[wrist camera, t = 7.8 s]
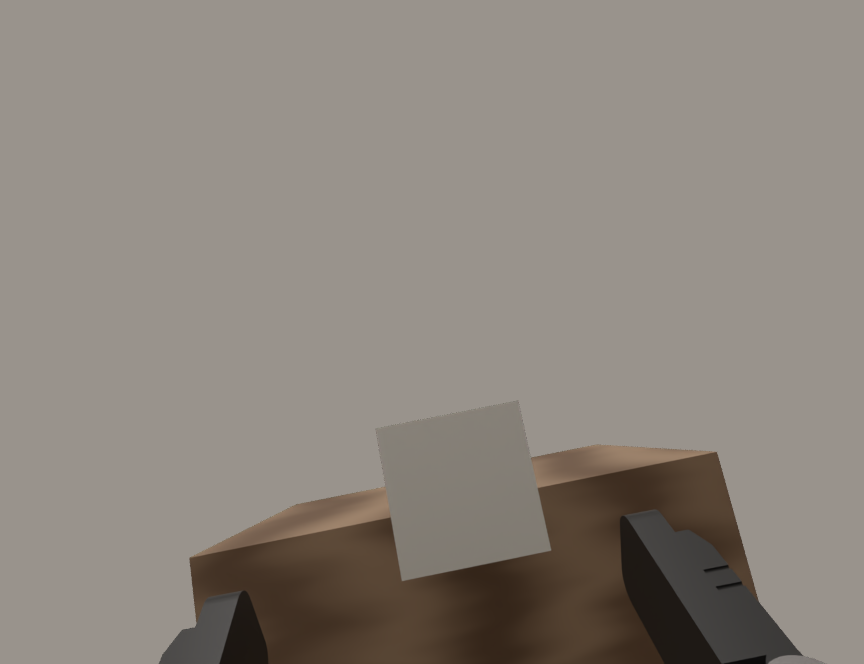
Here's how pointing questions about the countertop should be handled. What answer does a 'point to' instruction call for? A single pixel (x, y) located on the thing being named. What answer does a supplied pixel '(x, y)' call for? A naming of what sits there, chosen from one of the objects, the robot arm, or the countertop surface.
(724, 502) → the pedestal
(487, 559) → the teal-tipped white stick
